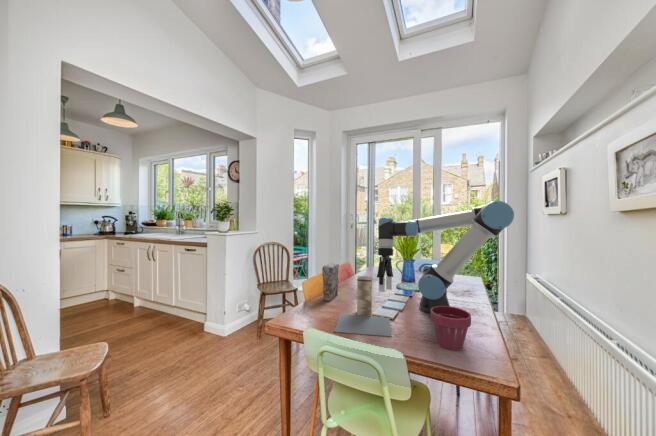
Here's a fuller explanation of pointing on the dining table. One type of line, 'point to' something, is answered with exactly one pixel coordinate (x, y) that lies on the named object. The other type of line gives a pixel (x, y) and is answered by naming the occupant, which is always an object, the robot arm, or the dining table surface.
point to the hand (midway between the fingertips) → (385, 290)
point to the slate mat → (363, 325)
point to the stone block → (330, 281)
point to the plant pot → (450, 326)
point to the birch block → (364, 295)
